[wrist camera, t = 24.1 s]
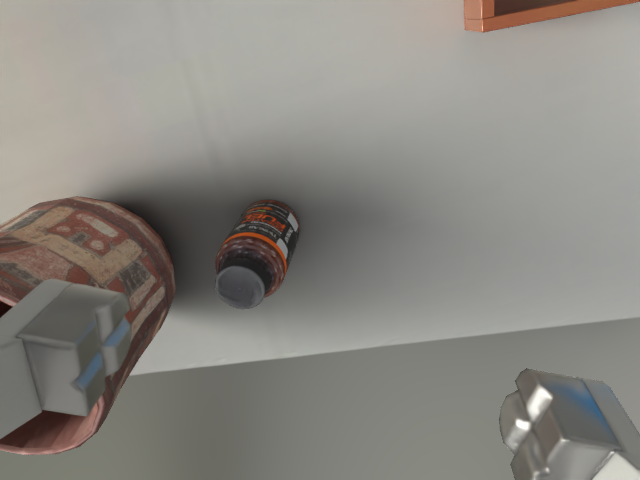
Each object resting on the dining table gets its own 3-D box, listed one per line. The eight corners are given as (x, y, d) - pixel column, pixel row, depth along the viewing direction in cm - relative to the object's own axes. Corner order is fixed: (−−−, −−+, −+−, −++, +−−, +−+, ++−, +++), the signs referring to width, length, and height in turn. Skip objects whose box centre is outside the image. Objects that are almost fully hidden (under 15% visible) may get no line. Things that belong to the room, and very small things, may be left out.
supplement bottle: (298, 197, 40) (275, 256, 30) (302, 251, 43) (282, 321, 33) (238, 197, 41) (196, 255, 31) (246, 250, 44) (209, 318, 34)
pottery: (203, 324, 49) (125, 470, 33) (62, 311, 50) (-78, 445, 35) (185, 182, 41) (68, 287, 25) (16, 170, 42) (-197, 263, 26)
